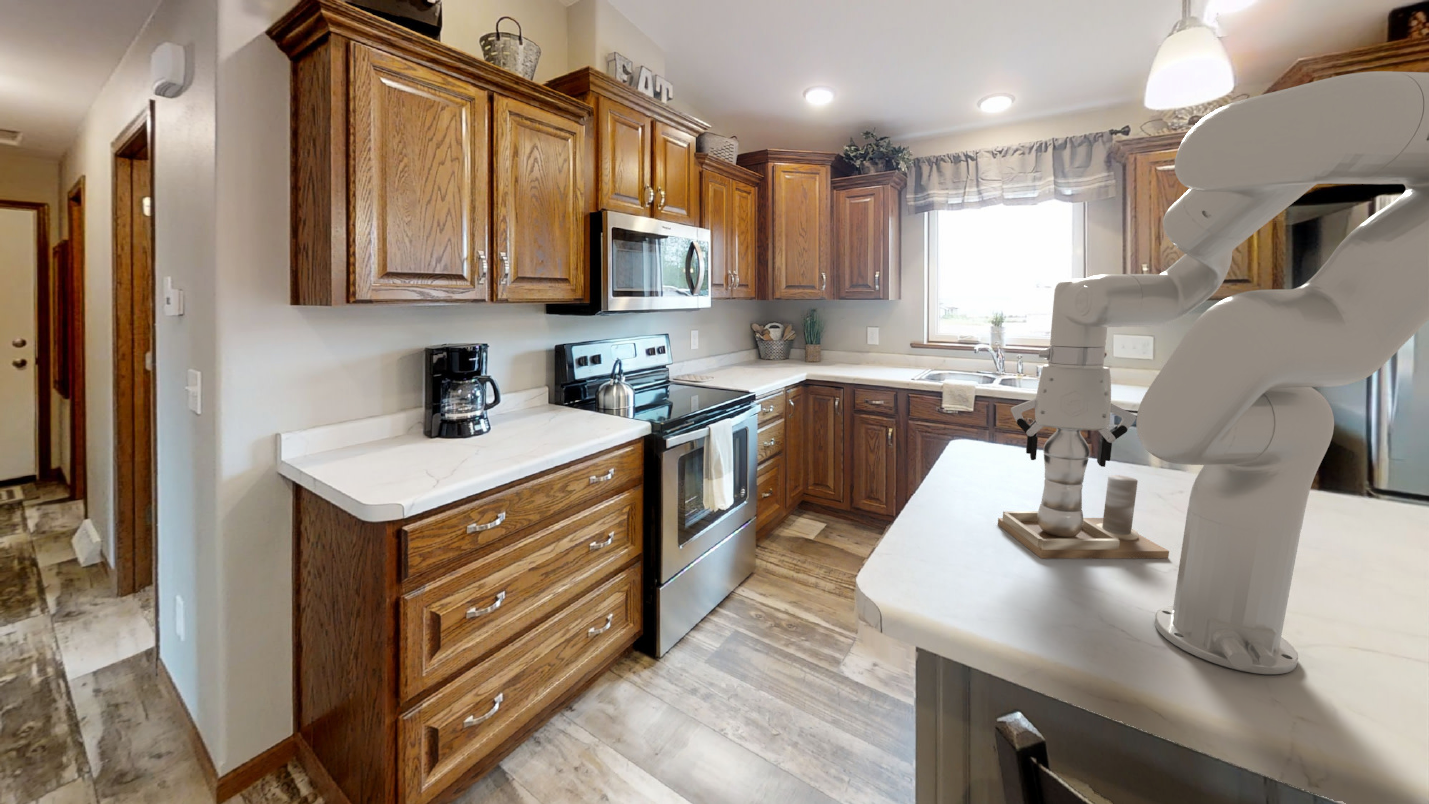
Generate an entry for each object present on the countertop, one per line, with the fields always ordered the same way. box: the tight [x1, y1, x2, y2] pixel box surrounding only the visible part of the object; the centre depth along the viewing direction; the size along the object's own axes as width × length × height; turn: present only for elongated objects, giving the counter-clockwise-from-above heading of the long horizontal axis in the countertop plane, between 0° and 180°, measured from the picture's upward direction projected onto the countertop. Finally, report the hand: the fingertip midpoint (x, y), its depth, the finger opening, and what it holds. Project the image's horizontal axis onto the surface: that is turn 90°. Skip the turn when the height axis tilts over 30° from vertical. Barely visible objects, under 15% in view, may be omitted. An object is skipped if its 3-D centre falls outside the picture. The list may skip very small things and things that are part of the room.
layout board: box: [997, 474, 1170, 560], centre depth 95 cm, size 20×14×11 cm
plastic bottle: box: [1037, 428, 1091, 537], centre depth 94 cm, size 6×7×20 cm
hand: (1066, 461), depth 94 cm, fingers open, 9 cm apart
